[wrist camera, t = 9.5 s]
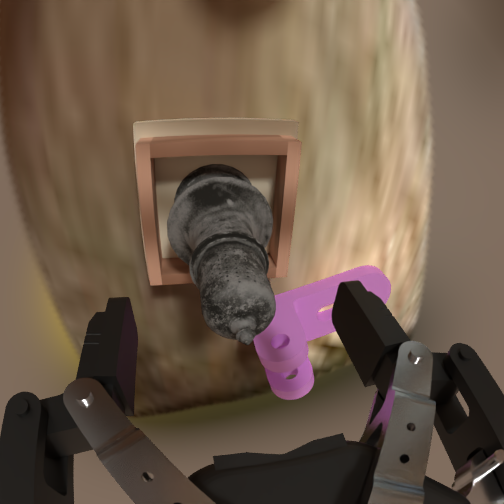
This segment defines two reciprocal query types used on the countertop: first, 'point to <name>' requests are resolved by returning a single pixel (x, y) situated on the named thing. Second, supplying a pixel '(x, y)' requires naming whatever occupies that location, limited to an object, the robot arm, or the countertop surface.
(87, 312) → the countertop surface
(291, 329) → the bracket
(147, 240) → the shaker holder
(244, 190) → the salt shaker
